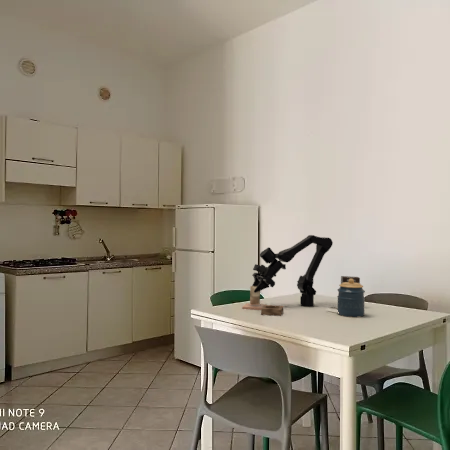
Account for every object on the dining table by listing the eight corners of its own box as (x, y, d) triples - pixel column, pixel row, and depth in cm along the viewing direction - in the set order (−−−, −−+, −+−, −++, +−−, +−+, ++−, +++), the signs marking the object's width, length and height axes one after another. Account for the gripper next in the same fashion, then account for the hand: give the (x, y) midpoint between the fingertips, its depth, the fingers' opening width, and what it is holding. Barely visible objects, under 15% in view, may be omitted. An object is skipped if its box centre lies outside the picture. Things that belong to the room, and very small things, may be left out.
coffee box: (341, 307, 234) (342, 277, 234) (339, 305, 240) (340, 276, 240) (359, 308, 233) (360, 277, 233) (357, 306, 239) (357, 276, 239)
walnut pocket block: (283, 312, 218) (283, 306, 218) (280, 315, 209) (281, 309, 209) (264, 310, 220) (264, 304, 220) (261, 314, 211) (261, 308, 211)
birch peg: (261, 303, 229) (261, 286, 229) (255, 305, 225) (255, 287, 225) (254, 302, 232) (254, 285, 232) (248, 303, 229) (248, 286, 229)
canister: (345, 317, 207) (346, 280, 207) (332, 312, 219) (332, 277, 220) (370, 316, 210) (370, 279, 210) (355, 311, 223) (355, 276, 223)
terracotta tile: (266, 306, 233) (266, 304, 233) (263, 310, 222) (263, 308, 222) (246, 305, 236) (246, 303, 236) (242, 308, 225) (242, 306, 225)
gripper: (256, 257, 239) (236, 278, 236) (269, 260, 221) (248, 282, 218) (269, 271, 241) (250, 292, 238) (283, 275, 224) (263, 298, 220)
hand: (252, 291), depth 228 cm, fingers closed on birch peg, 5 cm apart
